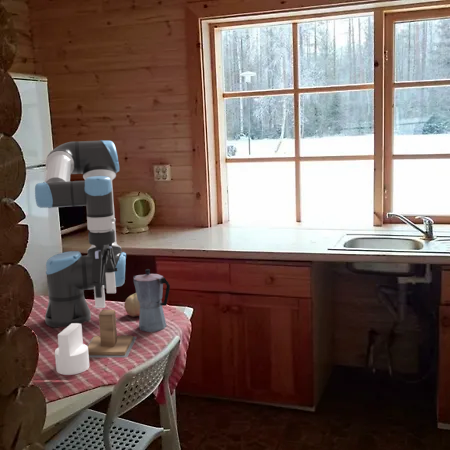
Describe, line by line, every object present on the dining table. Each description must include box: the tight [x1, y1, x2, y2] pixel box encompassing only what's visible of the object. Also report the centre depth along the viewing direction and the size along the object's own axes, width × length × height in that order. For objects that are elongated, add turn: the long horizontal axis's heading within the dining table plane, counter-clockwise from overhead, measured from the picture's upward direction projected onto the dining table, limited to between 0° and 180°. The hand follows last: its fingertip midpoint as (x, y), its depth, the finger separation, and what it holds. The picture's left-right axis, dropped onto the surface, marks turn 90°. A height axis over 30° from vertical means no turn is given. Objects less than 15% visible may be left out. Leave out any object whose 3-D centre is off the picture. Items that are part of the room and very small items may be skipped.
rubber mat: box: [87, 336, 138, 359], centre depth 178 cm, size 15×14×1 cm
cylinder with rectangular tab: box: [54, 323, 90, 376], centre depth 163 cm, size 9×9×12 cm
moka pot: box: [132, 268, 171, 333], centre depth 191 cm, size 10×15×20 cm, turn 59°
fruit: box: [124, 292, 140, 317], centre depth 204 cm, size 8×8×8 cm
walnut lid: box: [87, 309, 134, 355], centre depth 177 cm, size 12×12×11 cm
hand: (106, 300), depth 174 cm, fingers open, 13 cm apart
